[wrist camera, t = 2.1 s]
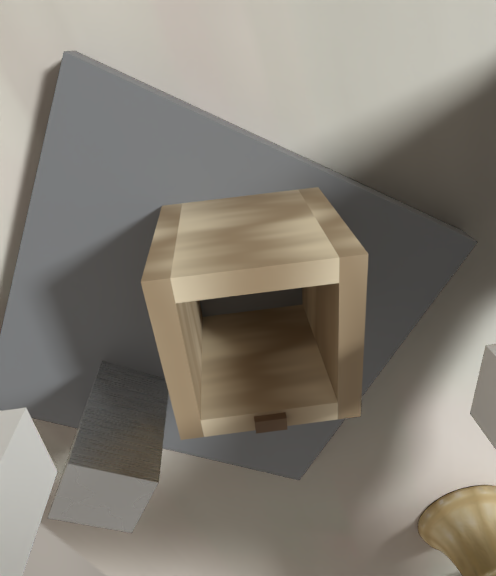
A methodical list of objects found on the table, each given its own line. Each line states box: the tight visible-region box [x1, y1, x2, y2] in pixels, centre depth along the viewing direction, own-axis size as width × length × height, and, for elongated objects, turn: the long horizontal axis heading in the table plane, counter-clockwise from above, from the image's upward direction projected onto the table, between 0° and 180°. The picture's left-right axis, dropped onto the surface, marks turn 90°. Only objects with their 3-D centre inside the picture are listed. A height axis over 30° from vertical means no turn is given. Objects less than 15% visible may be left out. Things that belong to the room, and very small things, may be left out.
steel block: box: [48, 361, 169, 533], centre depth 22 cm, size 4×4×8 cm
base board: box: [0, 51, 477, 480], centre depth 23 cm, size 20×19×2 cm
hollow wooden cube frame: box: [141, 187, 368, 440], centre depth 18 cm, size 7×7×7 cm
